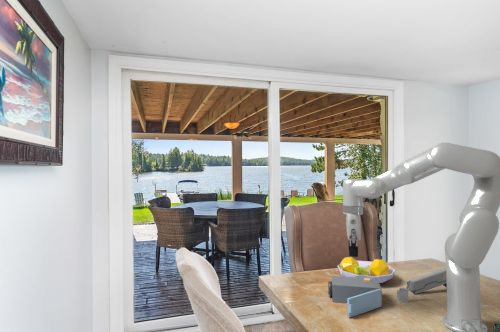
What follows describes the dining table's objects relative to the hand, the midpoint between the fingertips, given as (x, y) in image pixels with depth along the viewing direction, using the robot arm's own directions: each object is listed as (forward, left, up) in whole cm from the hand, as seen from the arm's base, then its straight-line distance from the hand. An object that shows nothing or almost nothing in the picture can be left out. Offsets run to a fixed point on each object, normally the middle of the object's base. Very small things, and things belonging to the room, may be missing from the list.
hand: (353, 253), depth 124 cm
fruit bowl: (+35, -7, -22) cm, 42 cm away
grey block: (+10, -1, -21) cm, 23 cm away
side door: (-3, -4, -21) cm, 22 cm away
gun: (+25, -35, -22) cm, 48 cm away
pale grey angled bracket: (+12, -21, -22) cm, 32 cm away
